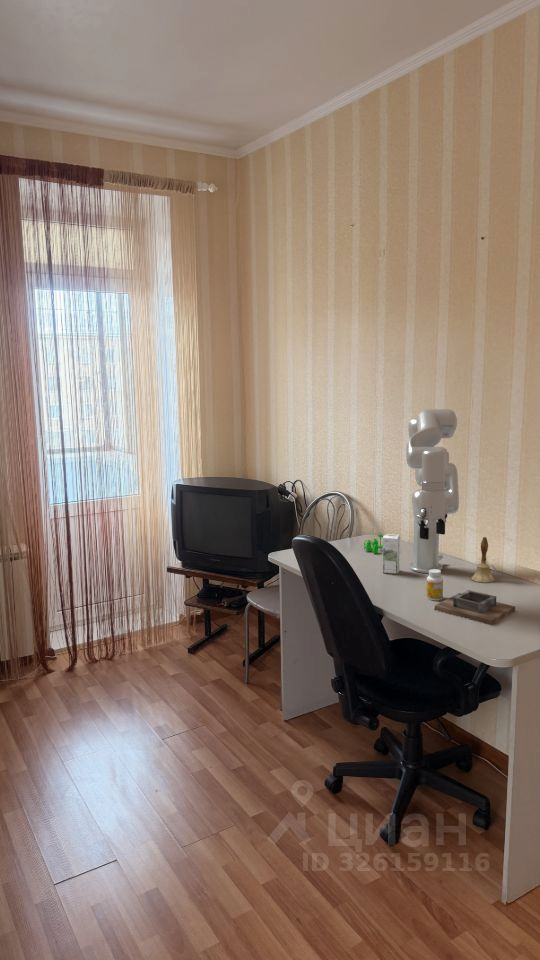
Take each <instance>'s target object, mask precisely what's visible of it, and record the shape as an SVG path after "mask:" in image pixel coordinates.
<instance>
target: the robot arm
mask: <svg viewBox="0 0 540 960" xmlns="http://www.w3.org/2000/svg"><path fill="white" fill-rule="evenodd" d="M457 418H458V417H457V415H456V412H454V410H452V409H450V408H449V409H448V408H446V409H445V408H443V409H441V408H440V409H439V408H436V409H433V408H432V409H431V408H430V409H424V410H421V411H420V412H419V413H418V415H417V416H416V417H414V418H411V419H410V420H409V422H408V427H407V430H408V432H407V433H408V436H409V439H408V441H407V443H406V448H405V456H406V457H405V458H406V464H407V465H408V467H410V468H411V469H415V470H414V471H415V474H414V475H415V482H416V485H418V486H420V487H421V488H420V489H417V490H415V491H413V493H412V496H411V503H412V504H411V505H412V511H413V562H412V563H409V569H410V570H411V571H413V572H416V573H421V574H429V570H431V569H437V570H440V571H441V572H442V571H443V564H441V563H440V561H441V560H443V559H444V555H443V554H439V553H440V551H439V549H440V548H439V547H440V535H443V536H444V535H445V534H446V523H447V518H448V515H452V514H453V515H454V514H456V513H457V512H458V510H459V508H460V507H459V506H460V496H459V476H458V475H459V474H458V469H457V467H456V465H455V464H454V463H452V462H449V461H450V454H449V453H450V452H449V451H448V450H447V449H446V448H445V447H443V446H437V445H438V444H440V442H441V440H442V439H450V438H453V436H454V434H455V431H456V430H457V425H458V419H457Z"/></svg>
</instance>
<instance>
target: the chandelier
mask: <svg viewBox="0 0 540 960" xmlns="http://www.w3.org/2000/svg"><path fill="white" fill-rule="evenodd" d="M377 537H378V538H379V540H378V539H377V538H373V541H372V540H370V539H366V540H365V541H364V543H363V549H364V551H365V552H366V551H367V552H370V551H371V552H372V553H373V555H376V554H378V553H379V549H383V544H382V538H383V537H384V535H383V534H378V535H377Z"/></svg>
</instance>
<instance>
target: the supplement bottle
mask: <svg viewBox="0 0 540 960" xmlns="http://www.w3.org/2000/svg"><path fill="white" fill-rule="evenodd" d="M441 575H442V570H441V571H440V570H437V569H431V570H429V573H428V576H427V577H426V598H427V600H431V601H441V600H442V599H443V598H444V597H443V593H444V592H443V591H444V583H443V582H444V578H443V577H442V576H441Z"/></svg>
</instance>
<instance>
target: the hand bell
mask: <svg viewBox="0 0 540 960" xmlns="http://www.w3.org/2000/svg"><path fill="white" fill-rule="evenodd" d="M480 550H481V560H480V563H479V564H477V565H476V569H475V573H474V574H473V575H472V576H471V580H472V581H475V582H476V583H477V582H478V583H483V584H484V583H485V584H486V583H488V584H489V583H493V582H495V581H496V579H495V577H494V576H493V575H492V572H491V566H490V565H489V564H488V563H487V553H488V550H489V543H488V538H487V537H486V536H483V537H482V540H481V542H480Z"/></svg>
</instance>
